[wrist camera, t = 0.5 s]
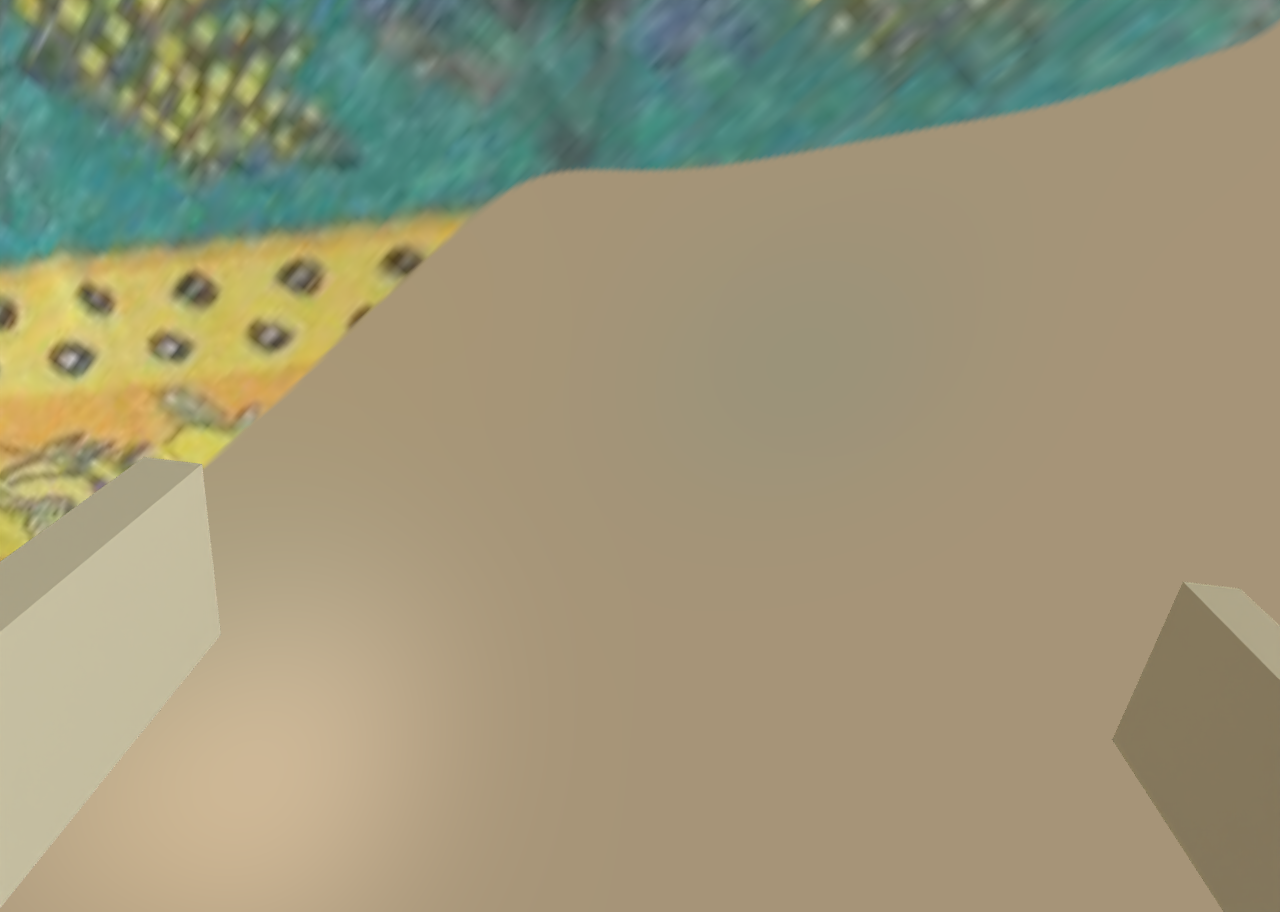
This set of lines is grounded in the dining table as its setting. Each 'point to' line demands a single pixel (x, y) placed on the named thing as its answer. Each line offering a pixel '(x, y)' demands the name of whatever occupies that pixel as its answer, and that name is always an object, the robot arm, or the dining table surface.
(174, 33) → the dining table surface
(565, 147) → the dining table surface
